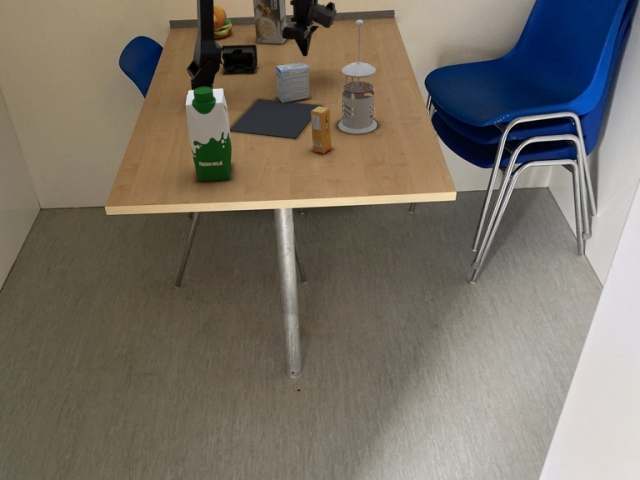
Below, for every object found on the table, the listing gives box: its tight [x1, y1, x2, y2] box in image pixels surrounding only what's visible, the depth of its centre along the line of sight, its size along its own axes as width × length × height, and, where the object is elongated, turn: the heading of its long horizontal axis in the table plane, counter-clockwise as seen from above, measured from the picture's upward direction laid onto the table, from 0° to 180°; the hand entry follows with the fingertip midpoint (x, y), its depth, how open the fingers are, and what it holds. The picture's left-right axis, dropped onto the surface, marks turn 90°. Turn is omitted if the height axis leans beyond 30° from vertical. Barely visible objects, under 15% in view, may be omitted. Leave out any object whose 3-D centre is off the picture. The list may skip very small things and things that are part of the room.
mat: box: [230, 98, 322, 140], centre depth 176 cm, size 20×18×1 cm
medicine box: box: [275, 61, 310, 103], centre depth 182 cm, size 8×4×9 cm, turn 111°
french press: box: [337, 19, 378, 135], centre depth 162 cm, size 10×12×25 cm
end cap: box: [221, 44, 258, 75], centre depth 201 cm, size 10×7×7 cm
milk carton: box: [185, 87, 233, 182], centre depth 148 cm, size 9×9×20 cm
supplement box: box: [310, 106, 332, 155], centre depth 158 cm, size 3×3×10 cm
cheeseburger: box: [214, 5, 233, 39], centre depth 225 cm, size 10×11×10 cm
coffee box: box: [252, 0, 288, 45], centre depth 215 cm, size 9×6×16 cm
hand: (305, 55), depth 187 cm, fingers closed
